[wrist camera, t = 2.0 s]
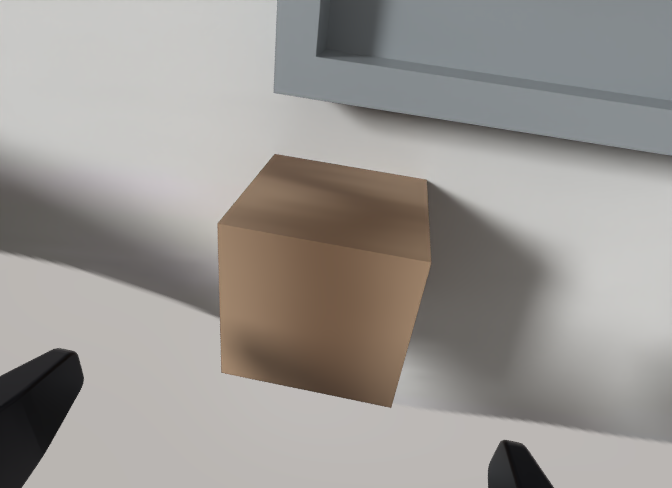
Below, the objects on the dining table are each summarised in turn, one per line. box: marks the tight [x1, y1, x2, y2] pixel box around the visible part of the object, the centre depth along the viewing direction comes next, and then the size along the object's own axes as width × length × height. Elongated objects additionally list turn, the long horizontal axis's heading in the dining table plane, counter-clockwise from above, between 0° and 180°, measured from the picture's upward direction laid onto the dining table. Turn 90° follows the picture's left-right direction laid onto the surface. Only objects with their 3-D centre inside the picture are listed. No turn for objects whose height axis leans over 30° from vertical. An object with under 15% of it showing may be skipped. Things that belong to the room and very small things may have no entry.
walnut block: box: [218, 154, 431, 408], centre depth 14 cm, size 5×5×5 cm
